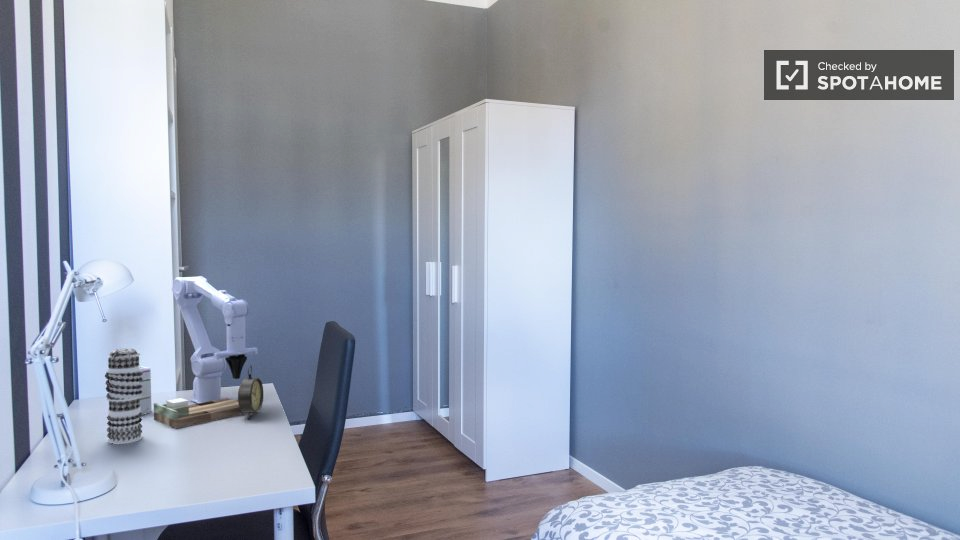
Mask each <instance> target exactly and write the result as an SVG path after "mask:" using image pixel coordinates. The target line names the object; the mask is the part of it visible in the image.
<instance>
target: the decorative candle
mask: <svg viewBox="0 0 960 540" xmlns="http://www.w3.org/2000/svg"><path fill="white" fill-rule="evenodd" d="M140 356H141V353H138V352H137V350H136V349H134V348H117V349H114V350H111V352H110V353H109V355H107V356H106V357H107V359H108V360H107V362H108V364H107V365H108V366H107V371H106V373H105V374H104V378H105V379H106V381H105V385H106V387H105V390H106V392H107V394H106V400H107V401H108V410H107V411H108V412H107V416H106V419H107V420H108V421H107V423H106V424H107V426H108V427H107V429H106V432H107V434H106V437H107V443H108V442H109V443H108V444H110V443H113V444H112V445H125V444H131V443H135V442H138V441H141V439H142V438H143V436H142V433H143V430H142V428H143V425H142V423H141V422H142V421H143V419H142V416H143V415H142V413H141V407H140V397H141V396H142V395H141V393H142V391H141V390H139V389H140V388H141V387H142V385H140V384H139V382H140V381H142V380H143V379H142V378H141V377H139V376H141V375H142V374H143V373H142V372H139V371H140V366H141V365H140Z"/></svg>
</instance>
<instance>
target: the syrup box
mask: <svg viewBox="0 0 960 540" xmlns="http://www.w3.org/2000/svg"><path fill="white" fill-rule="evenodd" d="M139 372H142V373H143V374H142V375H141V376H139V377H141V378H142V379H143V380H142V381H140V382H139V384H140V385H142V387H141V388H140V389H139V390H141V391H142V393H141V395H142V396H141V397H140V407H141V413H142V414H143V415H146V414H145V413H147V414H150V413H149V412H151V413H152V411H153V409H152V379H151V378H152V376H151V375H152V373H151V367H146V366H142V365H140V371H139Z"/></svg>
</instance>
